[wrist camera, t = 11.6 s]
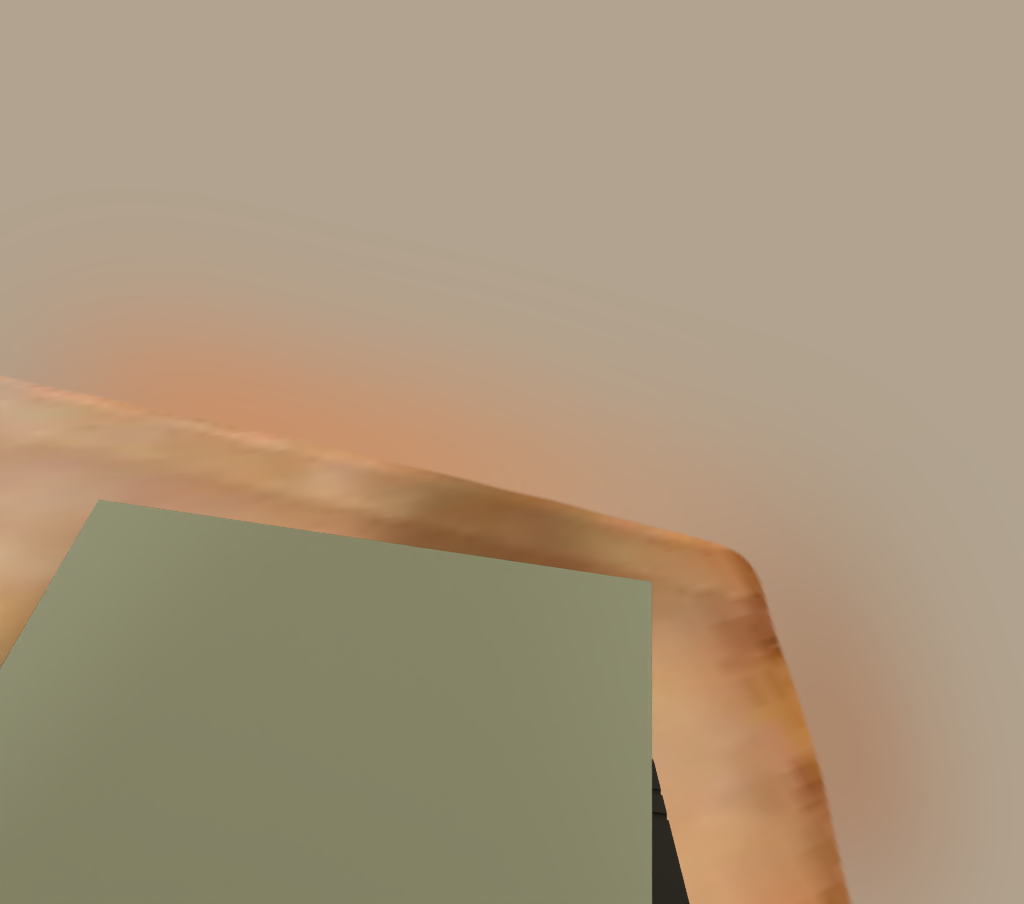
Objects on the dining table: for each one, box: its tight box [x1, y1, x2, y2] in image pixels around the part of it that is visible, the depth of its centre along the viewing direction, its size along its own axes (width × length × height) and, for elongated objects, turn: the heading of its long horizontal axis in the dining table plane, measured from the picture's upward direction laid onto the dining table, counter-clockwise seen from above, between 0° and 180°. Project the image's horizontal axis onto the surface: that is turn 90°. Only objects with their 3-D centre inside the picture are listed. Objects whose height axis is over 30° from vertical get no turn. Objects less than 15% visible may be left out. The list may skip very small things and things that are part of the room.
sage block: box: [0, 500, 652, 904], centre depth 8 cm, size 6×6×10 cm
